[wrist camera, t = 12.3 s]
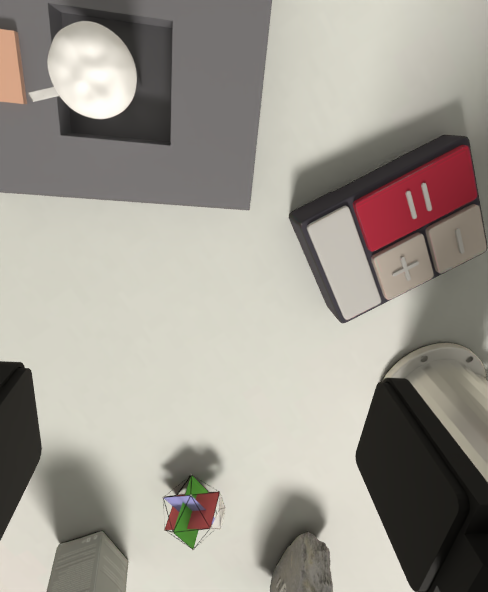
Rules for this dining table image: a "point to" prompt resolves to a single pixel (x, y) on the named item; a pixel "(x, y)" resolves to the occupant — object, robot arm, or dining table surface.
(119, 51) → the milkshake
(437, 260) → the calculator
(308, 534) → the decorative rock
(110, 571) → the skincare box
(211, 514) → the geometric puzzle
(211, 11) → the socket plate
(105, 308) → the dining table surface
